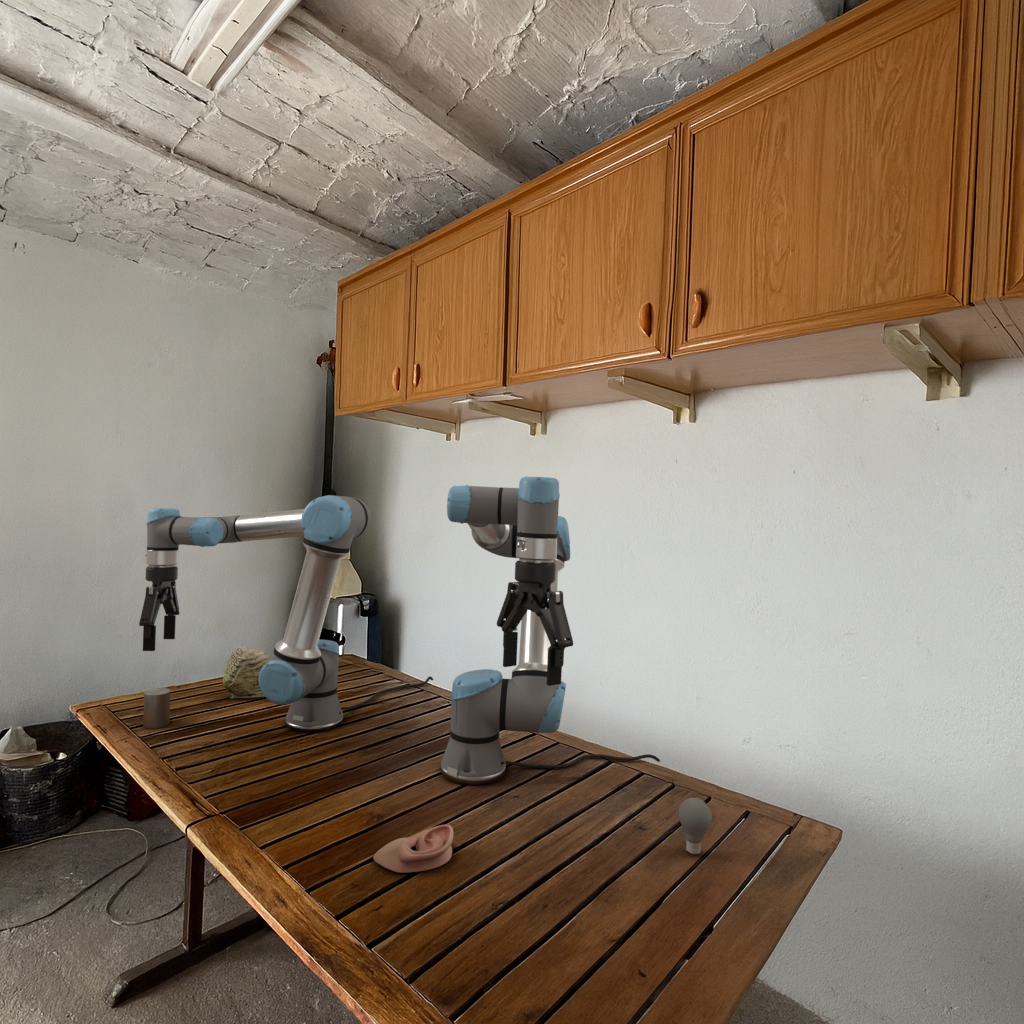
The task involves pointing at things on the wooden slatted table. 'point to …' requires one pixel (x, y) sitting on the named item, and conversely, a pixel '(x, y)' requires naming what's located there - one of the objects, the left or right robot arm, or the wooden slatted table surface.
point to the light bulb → (694, 822)
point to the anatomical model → (417, 851)
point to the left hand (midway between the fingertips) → (159, 644)
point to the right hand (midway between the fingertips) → (530, 674)
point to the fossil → (245, 672)
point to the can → (156, 708)
